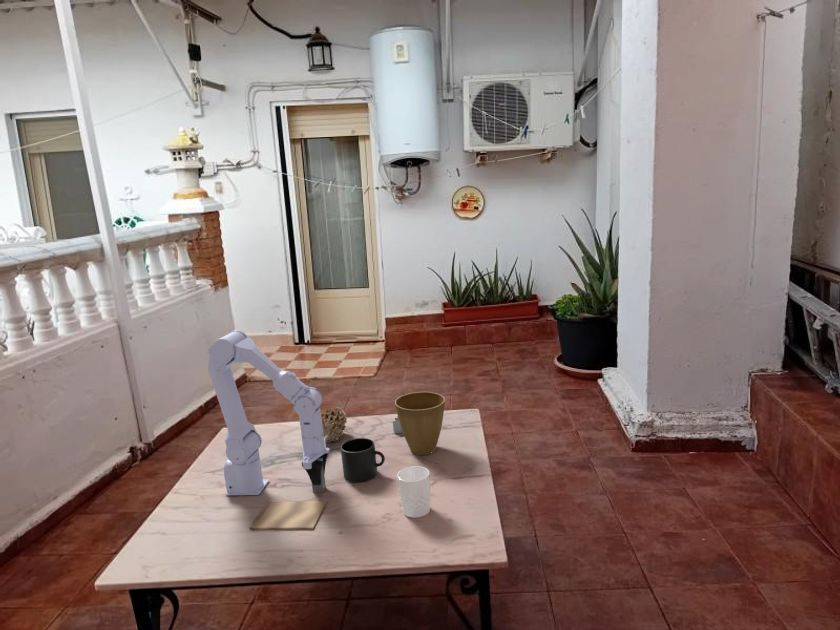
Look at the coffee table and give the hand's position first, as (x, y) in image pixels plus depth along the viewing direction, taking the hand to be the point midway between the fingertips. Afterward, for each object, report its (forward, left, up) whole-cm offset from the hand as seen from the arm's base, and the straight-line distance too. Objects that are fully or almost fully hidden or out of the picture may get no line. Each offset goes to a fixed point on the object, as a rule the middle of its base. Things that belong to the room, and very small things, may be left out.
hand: (318, 481), depth 161 cm
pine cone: (-5, +29, -3) cm, 30 cm away
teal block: (0, 0, -2) cm, 2 cm away
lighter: (+18, +37, -3) cm, 41 cm away
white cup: (+28, -11, -3) cm, 30 cm away
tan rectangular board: (-4, -13, -2) cm, 14 cm away
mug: (+11, +8, -3) cm, 14 cm away
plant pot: (+26, +23, -3) cm, 35 cm away
